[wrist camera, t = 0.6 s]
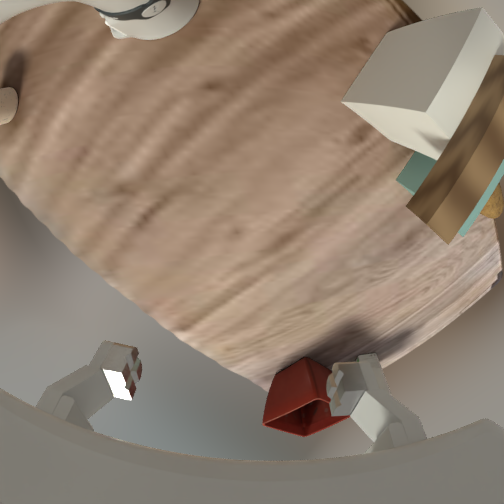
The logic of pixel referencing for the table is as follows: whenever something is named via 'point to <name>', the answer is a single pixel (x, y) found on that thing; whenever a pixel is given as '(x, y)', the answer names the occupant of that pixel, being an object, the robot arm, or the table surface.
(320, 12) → the table surface
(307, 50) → the table surface
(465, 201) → the rail
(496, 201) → the potato
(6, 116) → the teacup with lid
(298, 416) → the plant pot
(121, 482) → the robot arm
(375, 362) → the skincare box
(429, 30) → the stand
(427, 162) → the teal box
